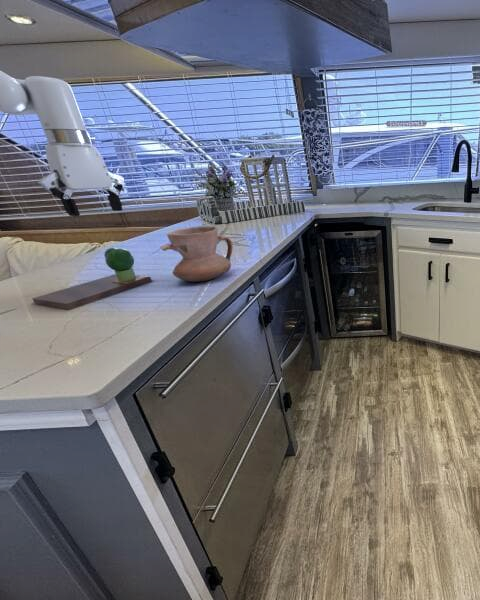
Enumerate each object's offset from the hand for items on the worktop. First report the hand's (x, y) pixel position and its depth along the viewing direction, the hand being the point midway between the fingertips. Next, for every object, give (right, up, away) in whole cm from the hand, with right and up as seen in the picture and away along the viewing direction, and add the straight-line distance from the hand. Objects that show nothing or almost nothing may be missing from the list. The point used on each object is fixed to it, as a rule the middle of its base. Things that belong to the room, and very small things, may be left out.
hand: (97, 213), depth 83 cm
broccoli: (+1, -17, +8) cm, 19 cm away
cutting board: (-4, -20, +4) cm, 21 cm away
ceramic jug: (+22, -16, +12) cm, 30 cm away
